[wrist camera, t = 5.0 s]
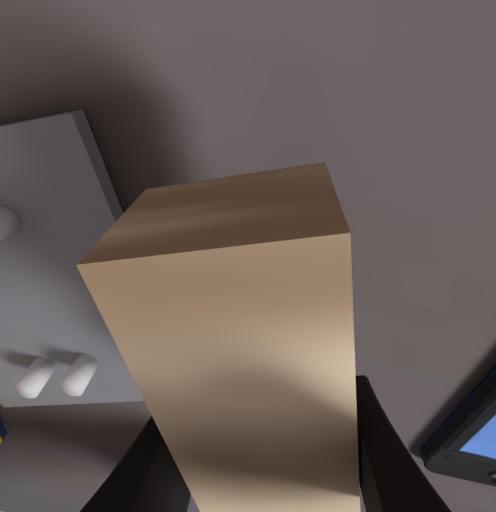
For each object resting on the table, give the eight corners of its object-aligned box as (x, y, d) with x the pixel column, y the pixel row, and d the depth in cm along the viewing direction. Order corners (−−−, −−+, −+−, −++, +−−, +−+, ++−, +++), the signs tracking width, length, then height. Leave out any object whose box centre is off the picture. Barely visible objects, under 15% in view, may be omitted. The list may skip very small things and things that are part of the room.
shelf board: (345, 461, 16) (362, 572, 13) (239, 463, 17) (228, 568, 14) (324, 162, 9) (350, 232, 6) (146, 189, 10) (76, 265, 7)
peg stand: (190, 386, 24) (180, 427, 22) (12, 395, 26) (-17, 433, 24) (82, 109, 15) (42, 122, 13) (-174, 159, 17) (-252, 179, 15)
